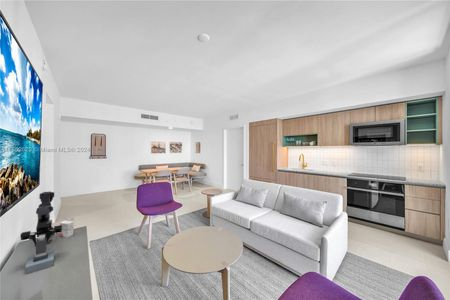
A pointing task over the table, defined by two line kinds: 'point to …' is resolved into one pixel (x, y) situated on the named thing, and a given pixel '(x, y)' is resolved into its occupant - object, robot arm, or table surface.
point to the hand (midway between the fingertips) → (41, 245)
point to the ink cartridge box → (67, 227)
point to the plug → (41, 245)
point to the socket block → (39, 262)
